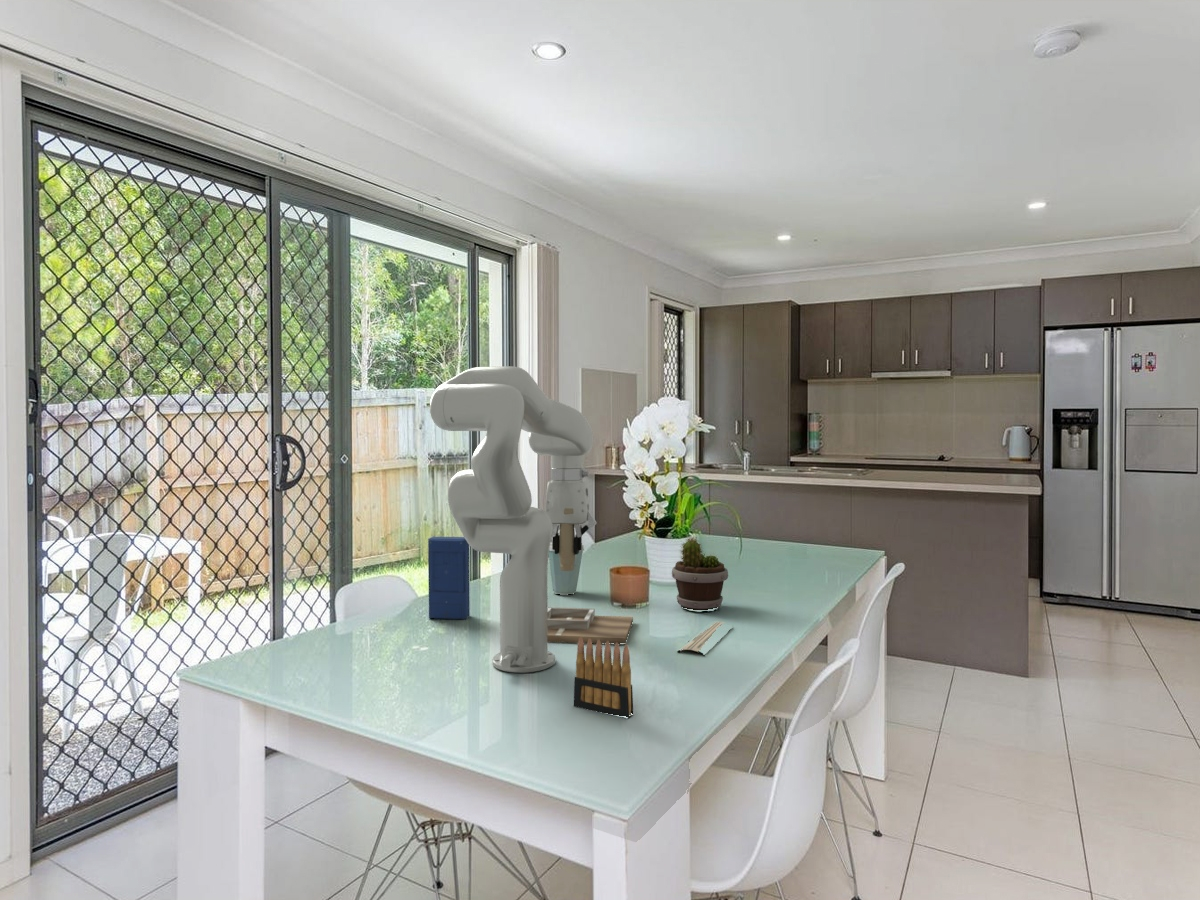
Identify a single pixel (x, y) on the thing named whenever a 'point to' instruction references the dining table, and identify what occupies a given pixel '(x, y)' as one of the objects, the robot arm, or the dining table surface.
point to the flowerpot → (698, 578)
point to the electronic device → (448, 578)
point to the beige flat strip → (702, 638)
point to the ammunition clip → (603, 680)
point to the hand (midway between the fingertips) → (567, 552)
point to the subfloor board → (586, 626)
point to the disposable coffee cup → (564, 573)
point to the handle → (567, 544)
